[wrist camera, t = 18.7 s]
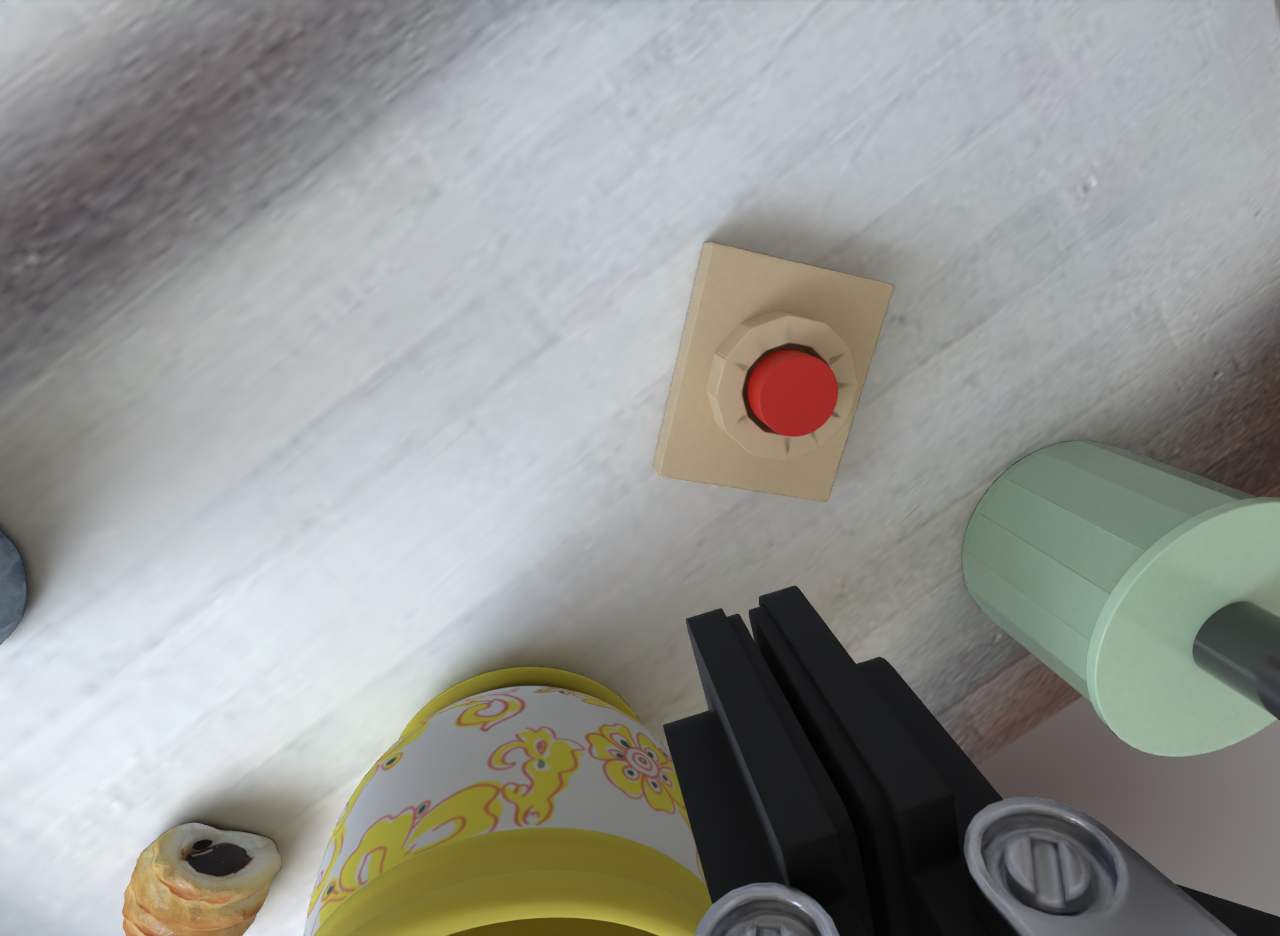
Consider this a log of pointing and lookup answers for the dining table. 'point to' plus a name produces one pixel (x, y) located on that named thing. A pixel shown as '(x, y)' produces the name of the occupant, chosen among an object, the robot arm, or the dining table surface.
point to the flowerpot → (515, 822)
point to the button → (792, 392)
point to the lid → (1194, 635)
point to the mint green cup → (1072, 541)
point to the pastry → (199, 883)
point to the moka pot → (11, 588)
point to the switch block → (733, 346)
